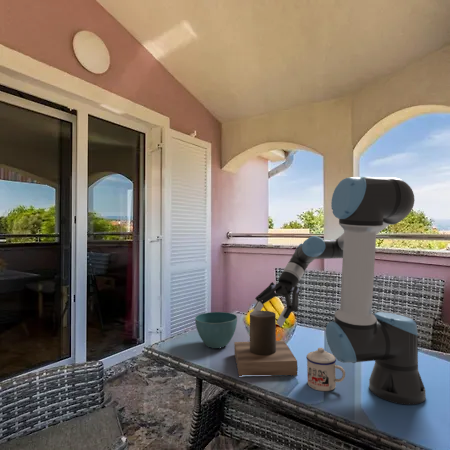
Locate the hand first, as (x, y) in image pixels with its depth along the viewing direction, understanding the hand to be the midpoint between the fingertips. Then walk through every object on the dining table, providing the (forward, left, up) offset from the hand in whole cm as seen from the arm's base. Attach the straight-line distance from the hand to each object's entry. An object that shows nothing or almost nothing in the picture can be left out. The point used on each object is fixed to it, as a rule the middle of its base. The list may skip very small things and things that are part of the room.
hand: (265, 320), depth 122 cm
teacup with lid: (-19, -16, -16) cm, 30 cm away
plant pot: (+20, +18, -16) cm, 31 cm away
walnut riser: (-1, +1, -16) cm, 16 cm away
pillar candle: (-1, +1, -11) cm, 11 cm away
